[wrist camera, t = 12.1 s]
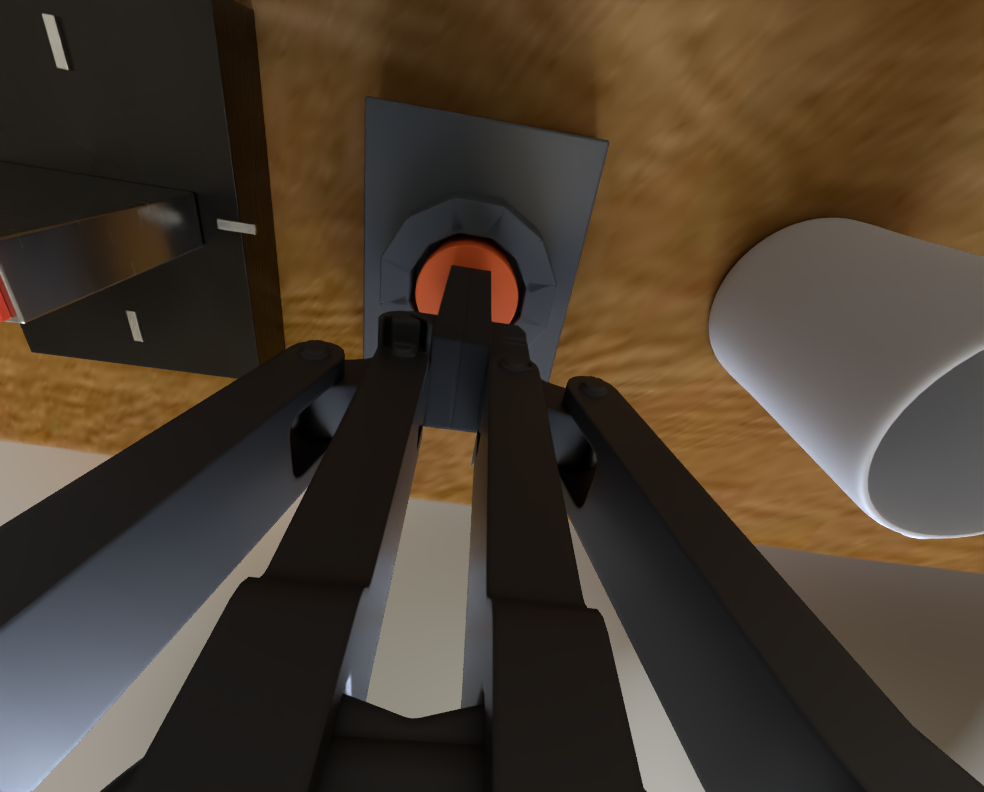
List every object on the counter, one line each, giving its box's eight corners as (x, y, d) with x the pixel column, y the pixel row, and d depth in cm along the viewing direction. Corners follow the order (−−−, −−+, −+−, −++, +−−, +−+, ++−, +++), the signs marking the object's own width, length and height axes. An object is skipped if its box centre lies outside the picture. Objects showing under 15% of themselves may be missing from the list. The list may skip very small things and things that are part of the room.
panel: (-64, -53, 15) (-183, -89, 13) (271, 13, 16) (227, -8, 14) (70, 324, 23) (13, 352, 20) (297, 355, 24) (272, 385, 21)
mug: (694, 258, 21) (860, 368, 12) (894, 184, 19) (1275, 242, 10) (724, 446, 27) (850, 621, 17) (879, 402, 25) (1110, 568, 16)
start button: (424, 227, 18) (419, 236, 16) (524, 243, 18) (527, 254, 17) (417, 321, 20) (412, 337, 18) (507, 334, 20) (508, 350, 19)
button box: (377, 98, 18) (350, 92, 14) (598, 139, 18) (622, 142, 15) (372, 365, 24) (352, 405, 20) (537, 387, 25) (545, 430, 21)
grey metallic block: (13, 218, 17) (-321, 284, 10) (-10, 159, 16) (-399, 187, 9) (204, 247, 18) (15, 329, 11) (194, 192, 17) (-22, 243, 10)
